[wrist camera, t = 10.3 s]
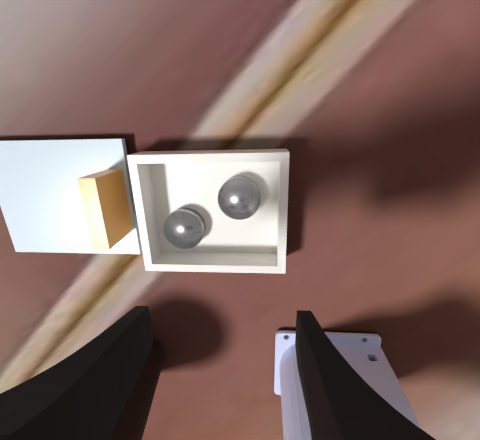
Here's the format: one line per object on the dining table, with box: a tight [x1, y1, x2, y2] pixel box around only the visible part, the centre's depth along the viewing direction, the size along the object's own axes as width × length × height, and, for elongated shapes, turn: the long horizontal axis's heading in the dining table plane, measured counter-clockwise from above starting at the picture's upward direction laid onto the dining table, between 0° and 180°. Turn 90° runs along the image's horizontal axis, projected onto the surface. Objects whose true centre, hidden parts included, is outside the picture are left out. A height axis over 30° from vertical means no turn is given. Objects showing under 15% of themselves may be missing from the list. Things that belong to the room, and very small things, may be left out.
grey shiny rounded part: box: [163, 208, 206, 249], centre depth 22 cm, size 3×3×1 cm
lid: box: [0, 138, 143, 254], centre depth 21 cm, size 11×9×5 cm
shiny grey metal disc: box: [218, 176, 261, 220], centre depth 21 cm, size 3×3×1 cm
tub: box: [127, 149, 290, 273], centre depth 21 cm, size 11×9×3 cm
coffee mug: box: [111, 336, 164, 440], centre depth 24 cm, size 12×9×10 cm
